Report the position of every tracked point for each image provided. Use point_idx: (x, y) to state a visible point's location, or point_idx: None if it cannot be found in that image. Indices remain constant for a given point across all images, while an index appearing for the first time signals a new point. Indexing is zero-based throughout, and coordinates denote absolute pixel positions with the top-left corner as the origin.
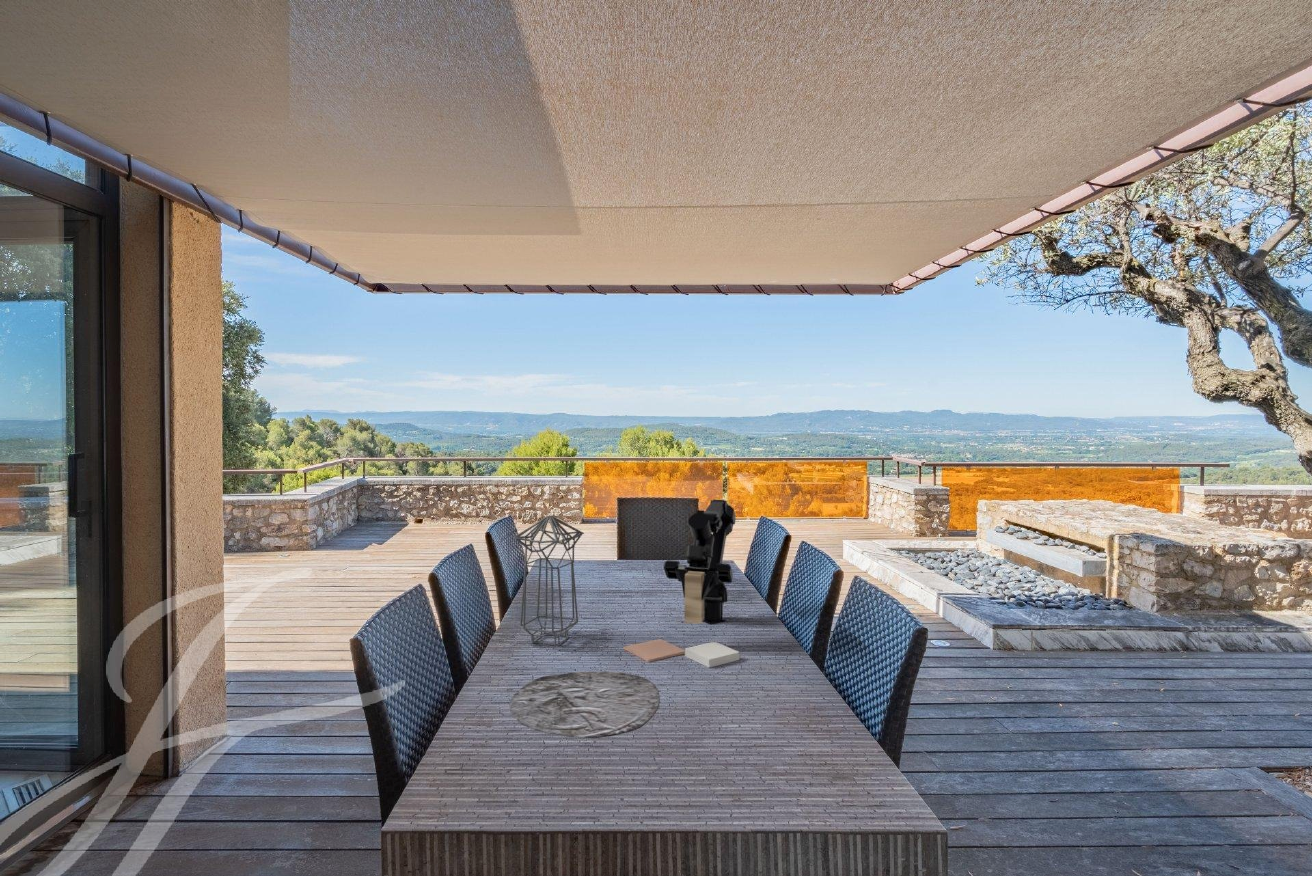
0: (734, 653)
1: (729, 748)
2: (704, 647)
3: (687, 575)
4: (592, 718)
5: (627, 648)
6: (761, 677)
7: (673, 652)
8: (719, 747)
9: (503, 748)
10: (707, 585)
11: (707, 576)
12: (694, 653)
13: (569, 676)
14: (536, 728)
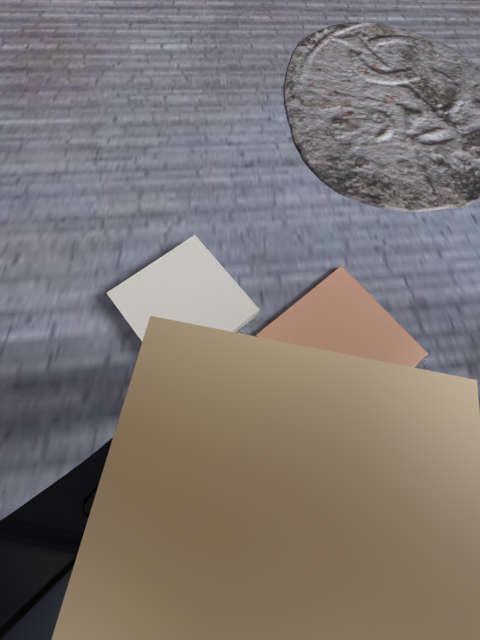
0: (122, 282)
1: (182, 4)
2: (204, 322)
3: (413, 369)
4: (369, 58)
5: (413, 340)
6: (85, 202)
7: (288, 320)
8: (194, 6)
9: (440, 7)
10: (108, 445)
11: (19, 576)
12: (232, 278)
13: (468, 183)
14: (428, 38)
